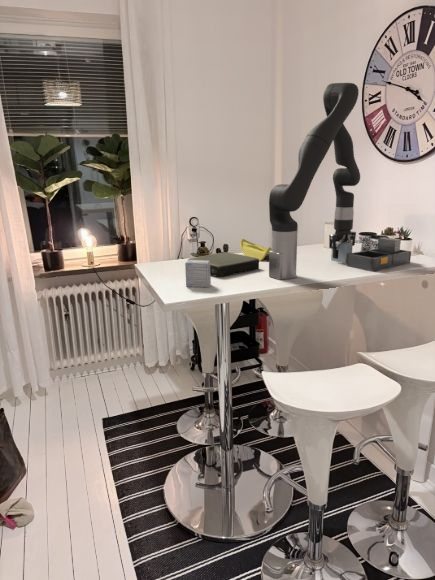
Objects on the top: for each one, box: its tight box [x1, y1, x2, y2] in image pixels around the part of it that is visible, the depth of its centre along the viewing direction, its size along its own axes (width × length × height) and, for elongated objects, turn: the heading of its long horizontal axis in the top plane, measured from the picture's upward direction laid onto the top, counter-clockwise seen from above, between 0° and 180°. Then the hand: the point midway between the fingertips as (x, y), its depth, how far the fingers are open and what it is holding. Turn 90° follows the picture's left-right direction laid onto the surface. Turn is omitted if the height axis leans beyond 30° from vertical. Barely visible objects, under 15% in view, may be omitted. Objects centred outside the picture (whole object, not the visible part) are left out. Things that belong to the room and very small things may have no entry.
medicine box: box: [184, 260, 212, 288], centre depth 146 cm, size 8×4×9 cm, turn 78°
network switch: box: [187, 251, 260, 278], centre depth 171 cm, size 23×23×5 cm
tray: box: [346, 236, 412, 273], centre depth 172 cm, size 24×13×10 cm, turn 123°
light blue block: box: [330, 241, 354, 265], centre depth 180 cm, size 4×8×8 cm, turn 33°
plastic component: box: [239, 238, 272, 262], centre depth 194 cm, size 20×7×10 cm
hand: (341, 257), depth 181 cm, fingers open, 6 cm apart
